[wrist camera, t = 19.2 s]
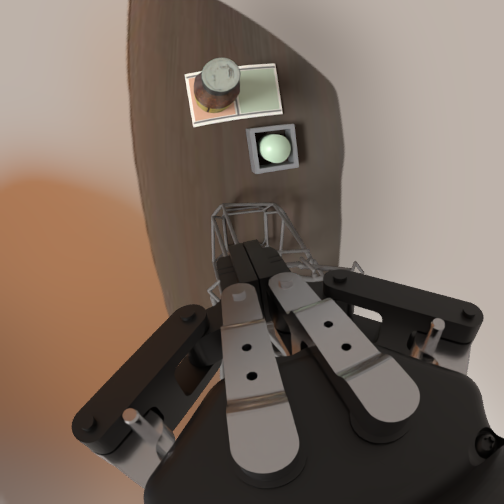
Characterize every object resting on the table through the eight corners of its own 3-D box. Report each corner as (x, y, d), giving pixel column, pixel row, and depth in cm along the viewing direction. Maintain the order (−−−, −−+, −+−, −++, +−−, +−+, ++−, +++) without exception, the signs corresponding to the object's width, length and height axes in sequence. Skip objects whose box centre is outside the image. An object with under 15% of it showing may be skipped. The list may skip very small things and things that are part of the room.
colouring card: (281, 114, 45) (282, 113, 44) (193, 127, 43) (193, 127, 42) (274, 64, 40) (275, 63, 39) (184, 75, 38) (184, 74, 37)
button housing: (292, 164, 49) (298, 167, 47) (251, 171, 48) (255, 174, 46) (288, 123, 46) (294, 123, 43) (245, 129, 45) (249, 129, 42)
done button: (284, 158, 48) (292, 160, 45) (258, 162, 48) (264, 165, 44) (281, 132, 46) (288, 133, 43) (255, 135, 46) (260, 136, 42)
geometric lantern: (279, 259, 58) (355, 395, 28) (205, 265, 55) (224, 423, 25) (284, 187, 51) (401, 290, 20) (200, 190, 48) (209, 318, 18)
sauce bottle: (236, 87, 40) (266, 62, 23) (223, 118, 42) (244, 112, 25) (201, 75, 38) (208, 40, 21) (187, 107, 40) (184, 91, 23)
